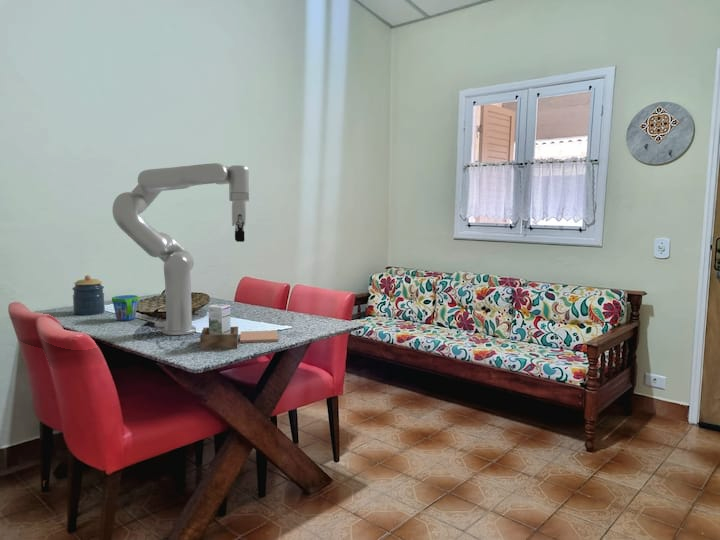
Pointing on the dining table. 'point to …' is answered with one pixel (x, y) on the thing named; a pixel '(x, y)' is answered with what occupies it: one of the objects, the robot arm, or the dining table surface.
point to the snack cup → (125, 307)
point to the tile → (259, 336)
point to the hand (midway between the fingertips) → (239, 240)
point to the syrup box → (219, 319)
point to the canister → (88, 297)
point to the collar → (219, 339)
